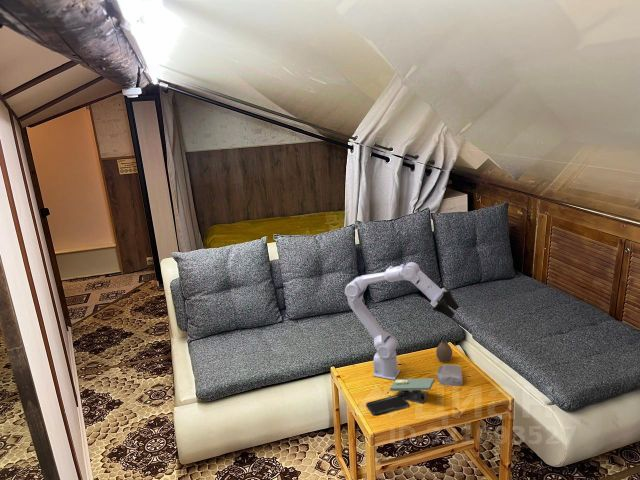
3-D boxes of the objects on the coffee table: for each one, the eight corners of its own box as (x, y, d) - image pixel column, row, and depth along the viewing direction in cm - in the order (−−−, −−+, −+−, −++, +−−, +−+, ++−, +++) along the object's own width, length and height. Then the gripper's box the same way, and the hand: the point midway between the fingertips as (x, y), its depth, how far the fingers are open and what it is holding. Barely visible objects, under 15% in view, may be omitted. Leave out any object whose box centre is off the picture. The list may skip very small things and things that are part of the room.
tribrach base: (397, 398, 178) (397, 390, 177) (402, 388, 184) (402, 381, 183) (423, 403, 174) (422, 396, 173) (427, 393, 180) (427, 386, 179)
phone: (365, 403, 175) (400, 394, 179) (365, 405, 175) (400, 396, 180) (373, 414, 168) (410, 404, 172) (373, 417, 168) (410, 407, 172)
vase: (435, 356, 208) (435, 338, 206) (450, 356, 207) (450, 338, 205) (437, 363, 201) (437, 345, 199) (453, 363, 200) (453, 345, 198)
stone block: (439, 389, 185) (464, 386, 183) (437, 378, 185) (462, 375, 182) (438, 375, 197) (461, 371, 194) (435, 364, 196) (459, 361, 193)
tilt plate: (391, 392, 179) (388, 384, 179) (396, 383, 185) (394, 375, 185) (430, 392, 171) (428, 383, 170) (435, 382, 177) (433, 374, 176)
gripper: (429, 287, 169) (458, 313, 167) (439, 274, 182) (465, 298, 179) (417, 299, 173) (445, 324, 170) (428, 286, 185) (453, 310, 183)
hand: (455, 312), depth 175 cm, fingers open, 7 cm apart
